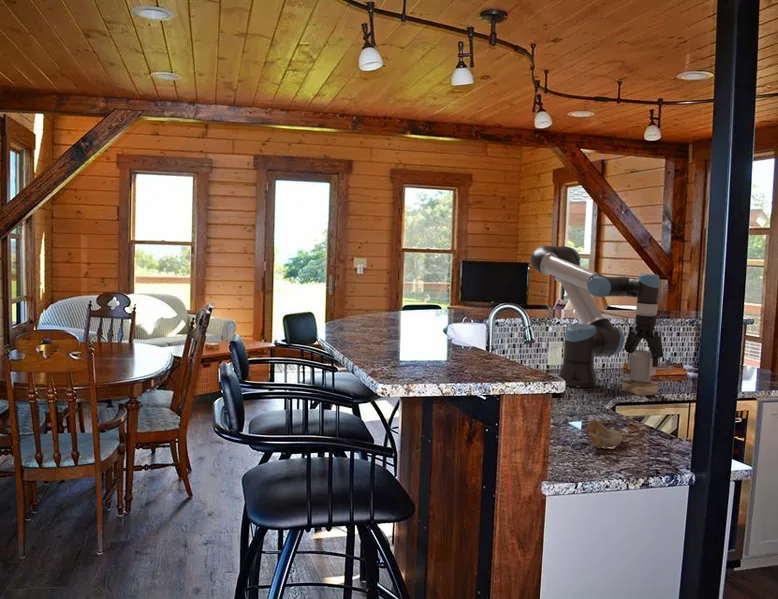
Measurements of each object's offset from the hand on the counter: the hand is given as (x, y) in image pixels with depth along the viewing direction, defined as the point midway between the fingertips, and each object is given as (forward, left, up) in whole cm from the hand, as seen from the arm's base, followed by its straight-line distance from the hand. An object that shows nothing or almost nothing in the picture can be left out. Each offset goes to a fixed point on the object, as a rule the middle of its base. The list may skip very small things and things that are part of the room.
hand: (641, 372), depth 269 cm
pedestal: (0, 0, -8) cm, 8 cm away
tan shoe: (+50, -65, -8) cm, 83 cm away
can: (0, 0, -4) cm, 4 cm away
